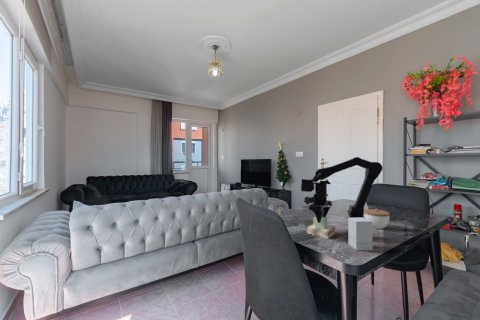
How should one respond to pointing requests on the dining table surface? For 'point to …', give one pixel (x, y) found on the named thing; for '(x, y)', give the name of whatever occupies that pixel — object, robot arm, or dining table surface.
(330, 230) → the birch block
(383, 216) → the lidded bowl
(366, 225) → the supplement box
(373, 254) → the dining table surface
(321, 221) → the sage cube
